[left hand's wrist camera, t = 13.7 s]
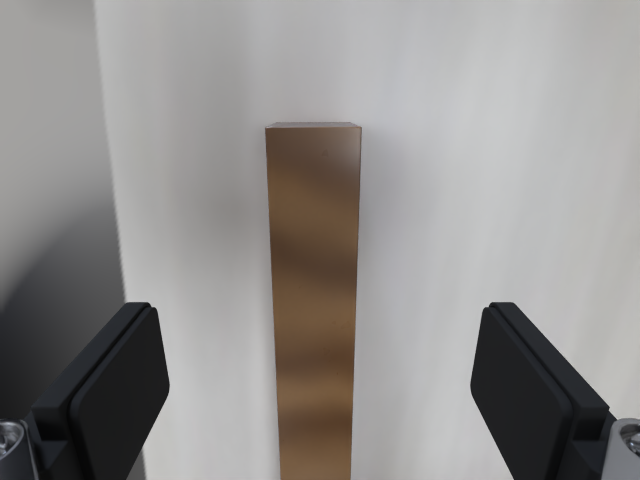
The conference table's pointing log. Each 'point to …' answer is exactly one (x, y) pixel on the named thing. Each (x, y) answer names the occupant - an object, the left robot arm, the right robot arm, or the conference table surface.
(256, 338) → the conference table surface
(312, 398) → the post
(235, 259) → the conference table surface
